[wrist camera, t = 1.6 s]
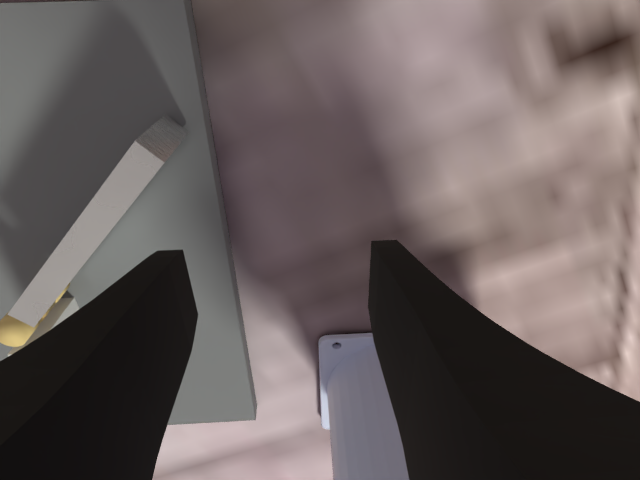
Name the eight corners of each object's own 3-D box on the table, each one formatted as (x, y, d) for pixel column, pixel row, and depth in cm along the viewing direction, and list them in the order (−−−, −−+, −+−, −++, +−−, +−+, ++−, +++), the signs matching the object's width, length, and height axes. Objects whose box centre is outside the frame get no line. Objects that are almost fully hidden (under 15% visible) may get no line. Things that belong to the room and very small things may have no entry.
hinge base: (190, -3, 14) (149, -2, 10) (257, 405, 25) (249, 479, 22) (-291, 10, 14) (-524, 17, 10) (-3, 419, 25) (-58, 497, 21)
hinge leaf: (59, 299, 19) (18, 351, 16) (33, 285, 18) (-13, 336, 16) (191, 133, 15) (167, 164, 12) (163, 111, 15) (131, 138, 12)
